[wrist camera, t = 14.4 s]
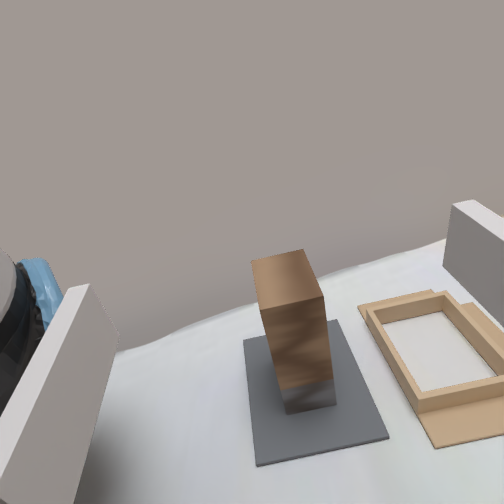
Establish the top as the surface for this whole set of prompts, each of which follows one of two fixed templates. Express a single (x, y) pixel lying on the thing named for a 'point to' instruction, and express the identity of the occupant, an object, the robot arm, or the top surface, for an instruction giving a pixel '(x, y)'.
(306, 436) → the mat
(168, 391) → the top surface
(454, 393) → the carton
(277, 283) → the walnut box
